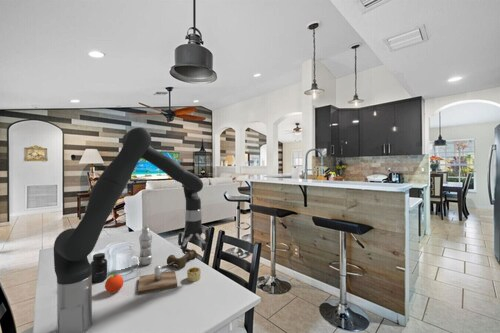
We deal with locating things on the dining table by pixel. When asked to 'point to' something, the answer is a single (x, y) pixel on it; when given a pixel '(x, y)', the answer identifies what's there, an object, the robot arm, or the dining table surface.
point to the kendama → (181, 259)
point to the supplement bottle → (99, 268)
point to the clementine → (114, 283)
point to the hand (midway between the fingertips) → (193, 252)
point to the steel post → (157, 273)
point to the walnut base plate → (157, 282)
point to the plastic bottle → (145, 247)
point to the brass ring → (193, 274)
